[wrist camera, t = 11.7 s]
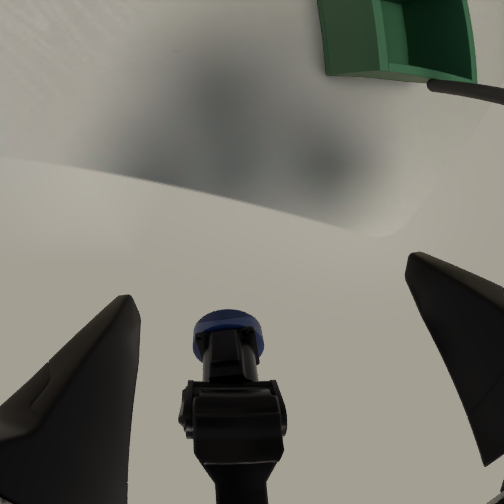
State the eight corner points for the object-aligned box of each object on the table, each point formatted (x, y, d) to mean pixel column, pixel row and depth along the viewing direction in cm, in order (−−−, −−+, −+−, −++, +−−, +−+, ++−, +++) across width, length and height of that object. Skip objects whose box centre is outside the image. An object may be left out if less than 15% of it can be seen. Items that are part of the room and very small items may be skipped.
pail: (313, -20, 13) (398, -5, 13) (326, 85, 17) (409, 90, 17) (428, -112, 1) (539, -35, 1) (484, 96, 5) (565, 127, 5)
